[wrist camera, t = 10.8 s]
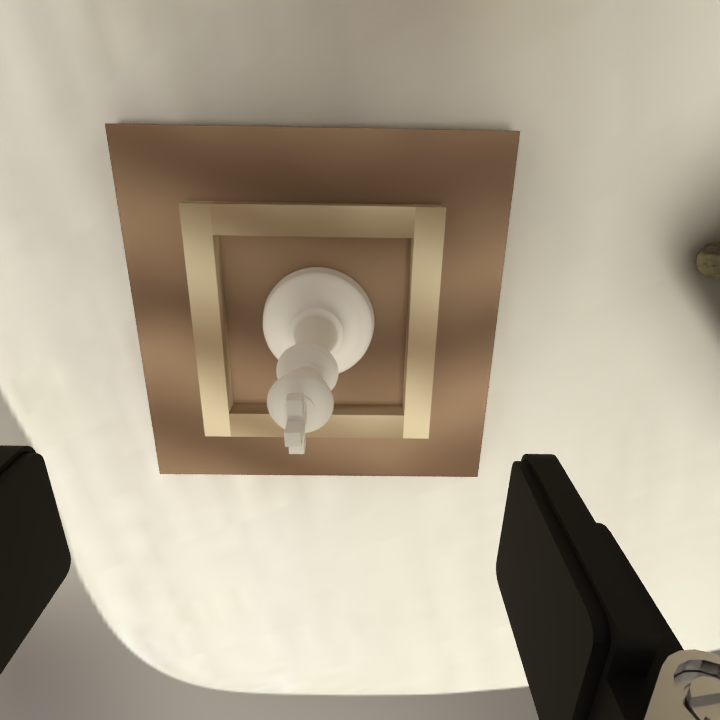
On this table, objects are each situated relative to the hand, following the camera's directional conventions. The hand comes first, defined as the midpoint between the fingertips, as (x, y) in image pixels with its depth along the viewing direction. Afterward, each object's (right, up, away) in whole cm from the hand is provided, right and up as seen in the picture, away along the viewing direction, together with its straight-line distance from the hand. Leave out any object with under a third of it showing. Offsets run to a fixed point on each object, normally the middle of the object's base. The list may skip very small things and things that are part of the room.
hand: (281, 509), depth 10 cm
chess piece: (0, +5, +13) cm, 14 cm away
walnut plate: (0, +5, +14) cm, 15 cm away
